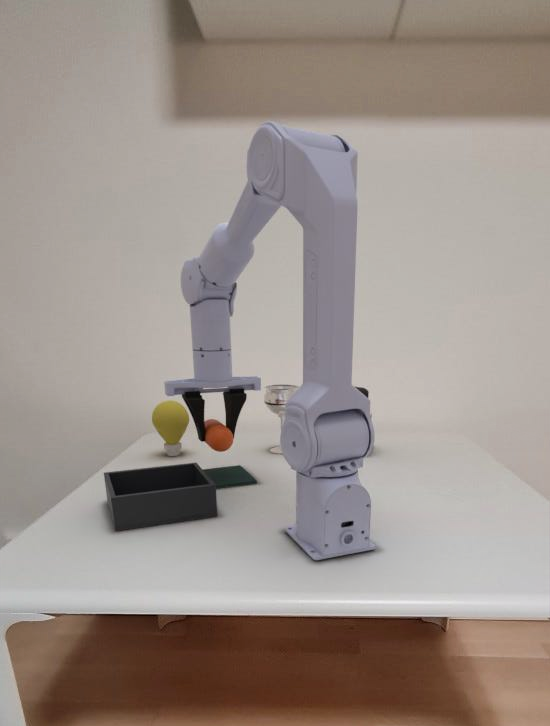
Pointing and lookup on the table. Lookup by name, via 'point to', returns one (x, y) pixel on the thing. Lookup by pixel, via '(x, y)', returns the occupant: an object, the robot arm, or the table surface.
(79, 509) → the table surface
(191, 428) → the table surface
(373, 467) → the table surface
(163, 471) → the basin
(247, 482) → the pad
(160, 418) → the light bulb
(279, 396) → the wineglass
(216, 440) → the orange lobed capsule
